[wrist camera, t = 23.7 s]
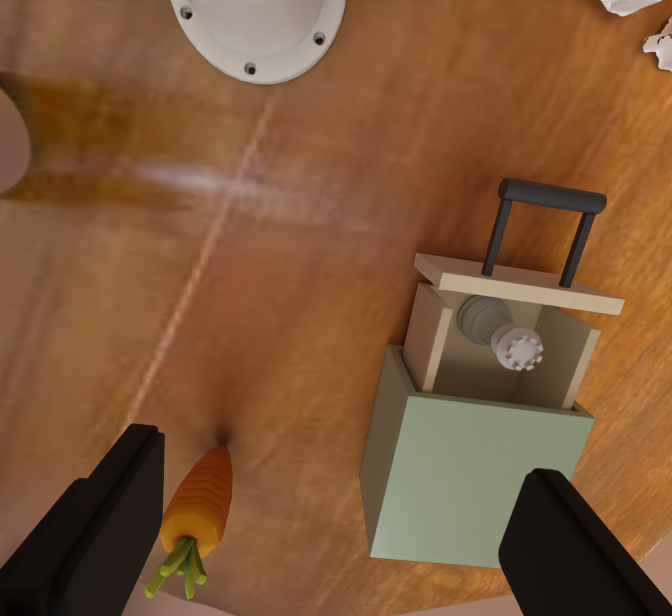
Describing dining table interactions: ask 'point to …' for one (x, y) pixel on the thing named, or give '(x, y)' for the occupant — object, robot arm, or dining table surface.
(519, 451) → the cabinet
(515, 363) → the rook chess piece
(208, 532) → the carrot
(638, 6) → the shaker set
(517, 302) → the drawer
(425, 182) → the dining table surface
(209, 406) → the dining table surface
